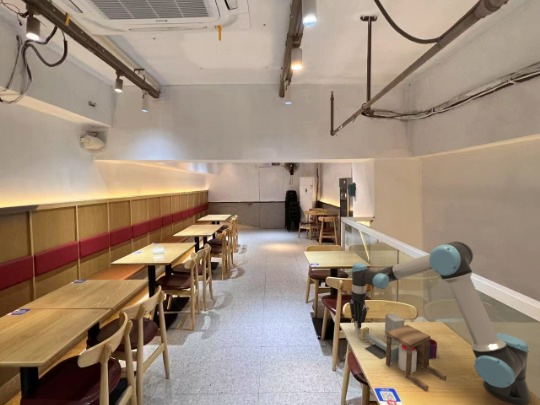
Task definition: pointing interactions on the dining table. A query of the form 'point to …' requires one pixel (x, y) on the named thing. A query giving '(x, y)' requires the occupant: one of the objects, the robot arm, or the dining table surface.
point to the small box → (393, 325)
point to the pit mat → (376, 351)
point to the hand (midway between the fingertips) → (357, 332)
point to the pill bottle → (403, 356)
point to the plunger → (380, 343)
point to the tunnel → (411, 339)
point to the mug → (433, 349)
